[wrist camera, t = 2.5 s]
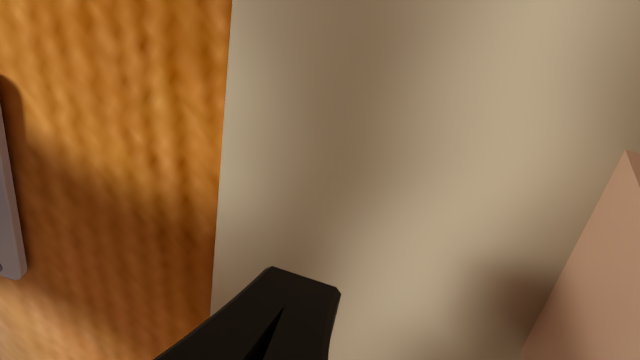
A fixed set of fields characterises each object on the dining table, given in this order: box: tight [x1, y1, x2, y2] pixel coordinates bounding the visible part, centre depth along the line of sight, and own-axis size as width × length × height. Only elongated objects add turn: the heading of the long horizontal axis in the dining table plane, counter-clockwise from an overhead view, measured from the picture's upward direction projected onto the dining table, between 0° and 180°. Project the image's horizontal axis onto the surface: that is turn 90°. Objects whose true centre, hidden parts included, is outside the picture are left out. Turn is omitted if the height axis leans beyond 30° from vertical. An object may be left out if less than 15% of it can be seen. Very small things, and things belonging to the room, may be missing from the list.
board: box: [210, 0, 640, 360], centre depth 13 cm, size 17×16×1 cm
